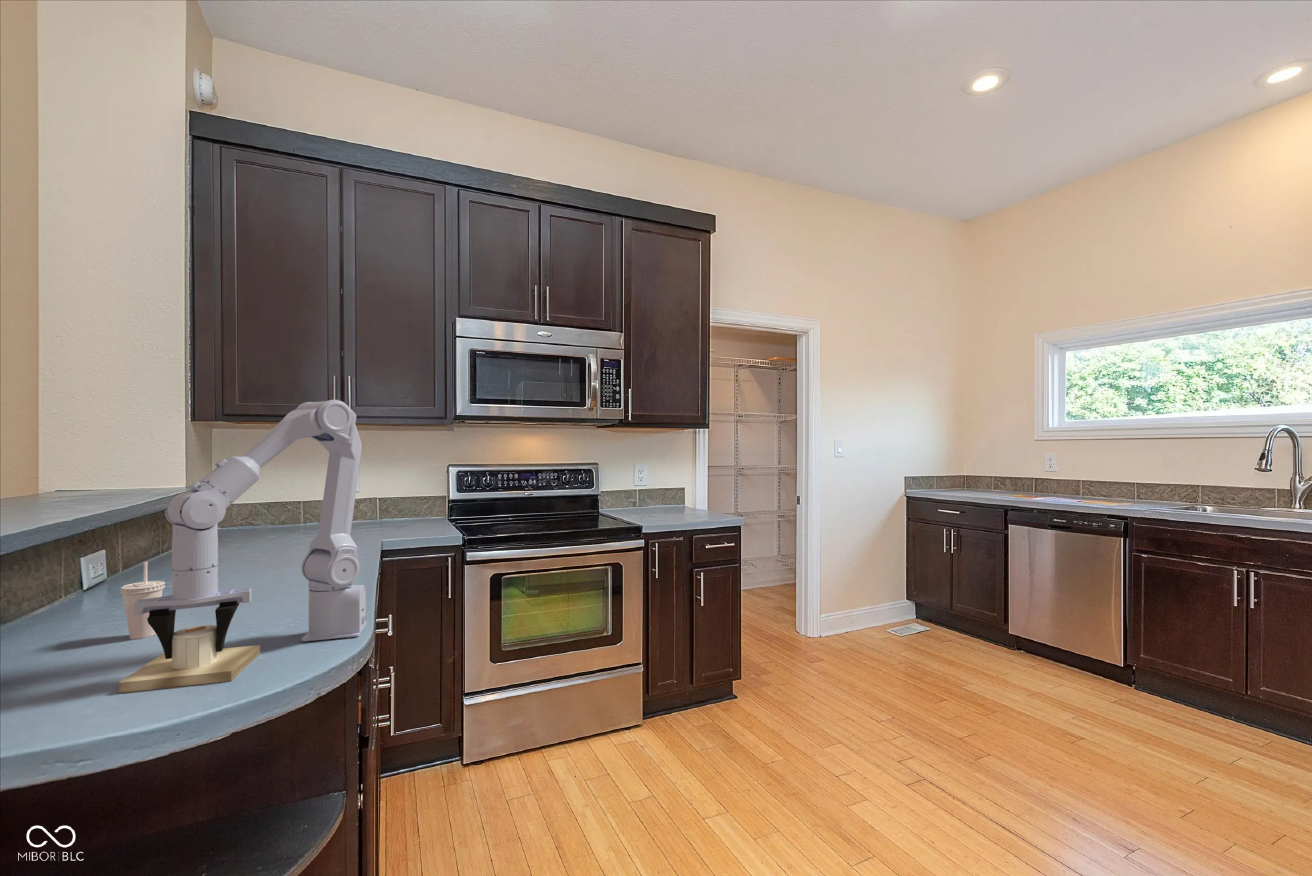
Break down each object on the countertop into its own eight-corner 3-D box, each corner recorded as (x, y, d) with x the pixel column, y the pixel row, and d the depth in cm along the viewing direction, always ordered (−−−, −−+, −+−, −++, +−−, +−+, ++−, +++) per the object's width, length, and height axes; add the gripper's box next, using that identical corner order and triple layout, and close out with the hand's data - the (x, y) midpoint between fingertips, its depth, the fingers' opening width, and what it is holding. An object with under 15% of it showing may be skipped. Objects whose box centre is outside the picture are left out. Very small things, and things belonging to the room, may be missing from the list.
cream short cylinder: (206, 653, 95) (206, 620, 95) (224, 659, 93) (224, 625, 93) (165, 665, 90) (165, 630, 91) (182, 671, 88) (182, 635, 88)
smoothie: (138, 642, 106) (138, 565, 106) (110, 640, 107) (110, 564, 107) (174, 631, 112) (174, 558, 112) (147, 629, 113) (147, 557, 113)
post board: (260, 654, 99) (260, 624, 99) (231, 682, 88) (231, 647, 88) (162, 664, 95) (162, 632, 95) (118, 694, 84) (118, 658, 84)
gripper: (254, 558, 99) (254, 638, 99) (144, 567, 92) (144, 653, 92) (247, 566, 92) (248, 651, 92) (129, 576, 86) (129, 668, 86)
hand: (195, 653), depth 92 cm, fingers closed on cream short cylinder, 6 cm apart
